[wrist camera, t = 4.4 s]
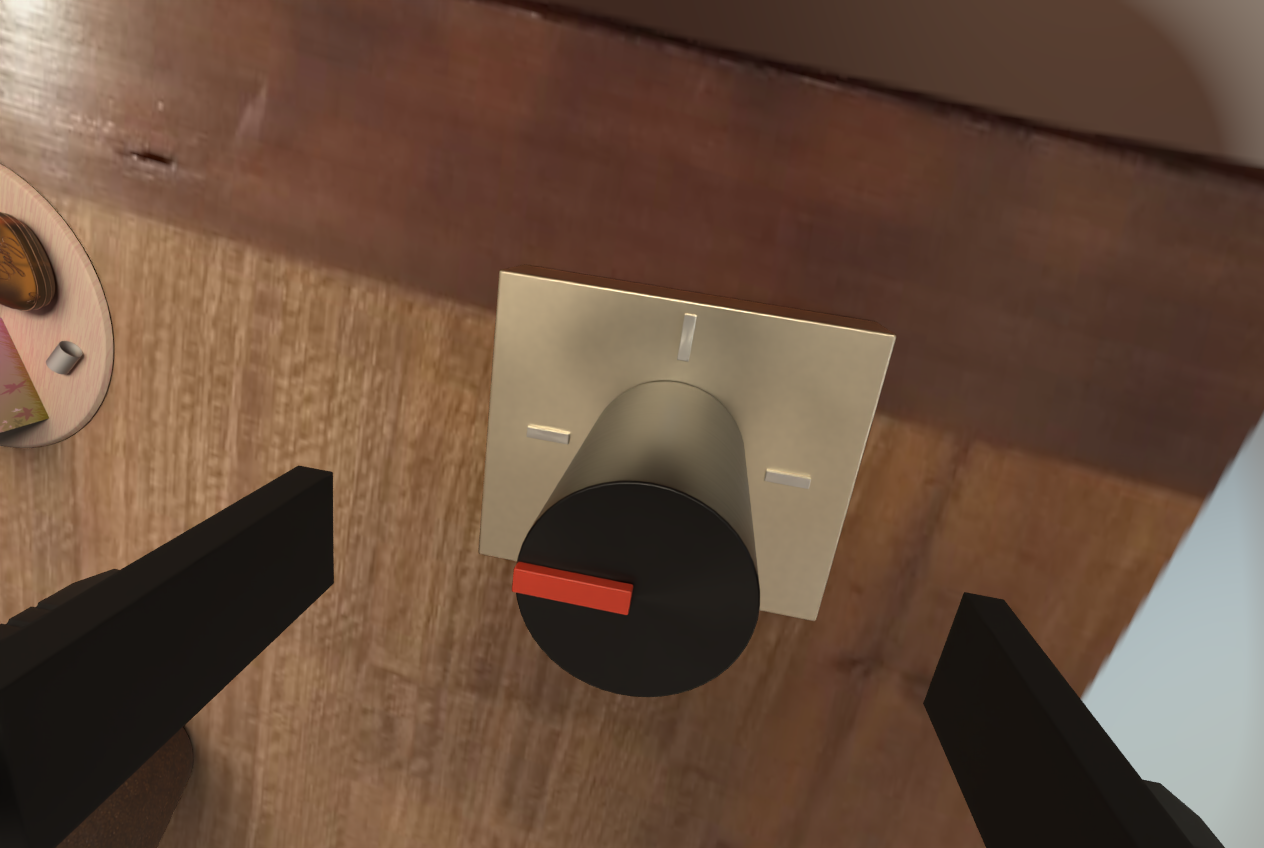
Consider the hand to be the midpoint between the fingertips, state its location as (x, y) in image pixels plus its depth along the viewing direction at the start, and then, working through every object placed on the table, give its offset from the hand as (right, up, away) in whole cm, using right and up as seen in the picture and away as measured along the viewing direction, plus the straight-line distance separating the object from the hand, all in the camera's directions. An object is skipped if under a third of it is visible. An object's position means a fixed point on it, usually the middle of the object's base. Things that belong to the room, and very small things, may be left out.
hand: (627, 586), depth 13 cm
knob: (+1, +2, +7) cm, 8 cm away
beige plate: (-26, +8, +12) cm, 30 cm away
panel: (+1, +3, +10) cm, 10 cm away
